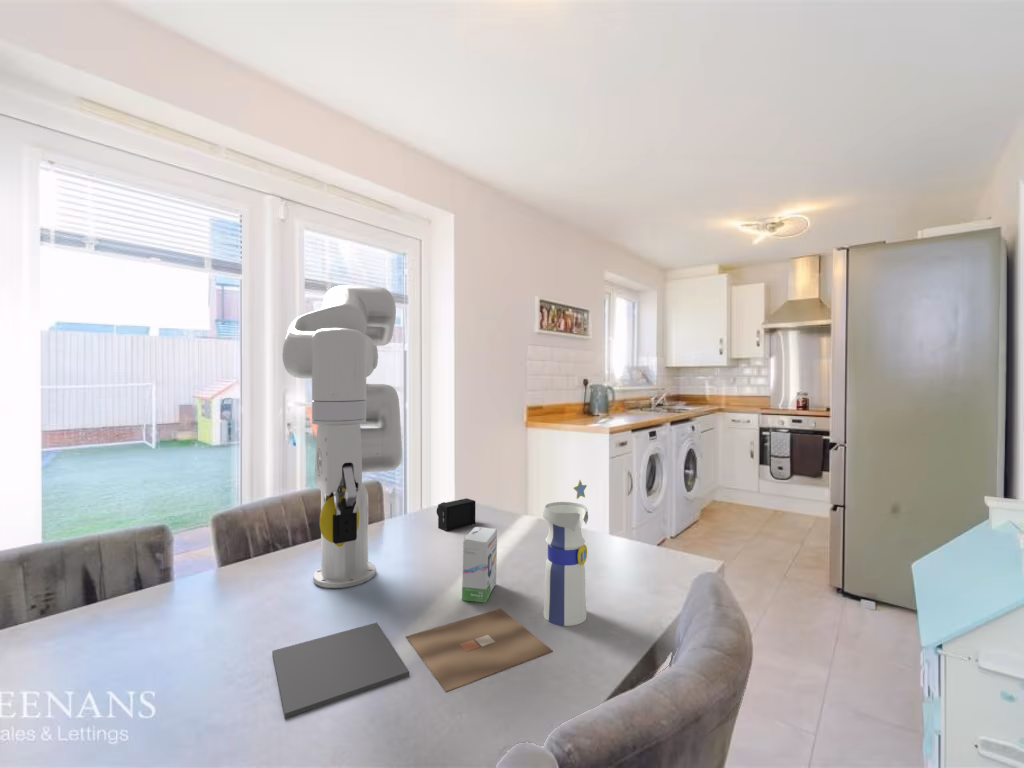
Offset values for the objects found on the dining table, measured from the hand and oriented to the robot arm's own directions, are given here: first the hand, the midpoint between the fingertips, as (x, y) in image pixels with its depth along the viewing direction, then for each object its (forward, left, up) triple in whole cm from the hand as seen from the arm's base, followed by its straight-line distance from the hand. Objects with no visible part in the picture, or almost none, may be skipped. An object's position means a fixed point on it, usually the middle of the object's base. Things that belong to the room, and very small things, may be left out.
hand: (339, 533), depth 69 cm
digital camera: (-52, +43, -20) cm, 70 cm away
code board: (+6, +20, -19) cm, 28 cm away
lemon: (0, 0, -2) cm, 2 cm away
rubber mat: (0, 0, -19) cm, 19 cm away
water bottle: (+6, +38, -19) cm, 43 cm away
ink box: (-10, +29, -19) cm, 36 cm away
